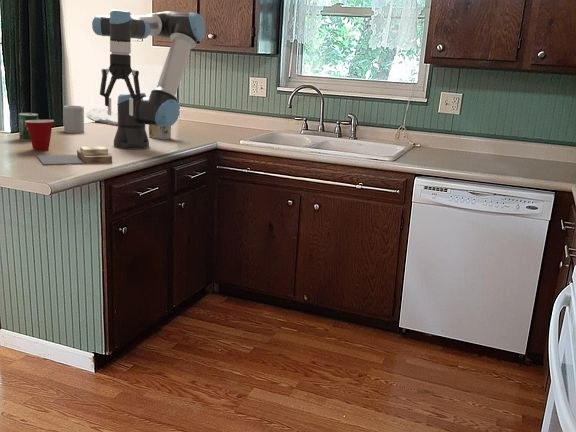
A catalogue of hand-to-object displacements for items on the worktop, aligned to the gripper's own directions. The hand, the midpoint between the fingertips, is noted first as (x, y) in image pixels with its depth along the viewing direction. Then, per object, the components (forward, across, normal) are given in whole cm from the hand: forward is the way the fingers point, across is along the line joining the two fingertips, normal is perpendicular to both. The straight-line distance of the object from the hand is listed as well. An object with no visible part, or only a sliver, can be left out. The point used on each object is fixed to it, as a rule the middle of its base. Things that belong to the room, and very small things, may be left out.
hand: (120, 115), depth 231 cm
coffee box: (+17, -32, -50) cm, 61 cm away
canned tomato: (+17, +27, -48) cm, 58 cm away
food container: (+18, -19, -100) cm, 103 cm away
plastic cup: (+17, +26, -24) cm, 39 cm away
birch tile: (+15, +10, 0) cm, 18 cm away
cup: (+17, +4, -70) cm, 73 cm away
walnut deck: (+17, +10, 0) cm, 20 cm away
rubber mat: (+17, +22, 0) cm, 28 cm away
